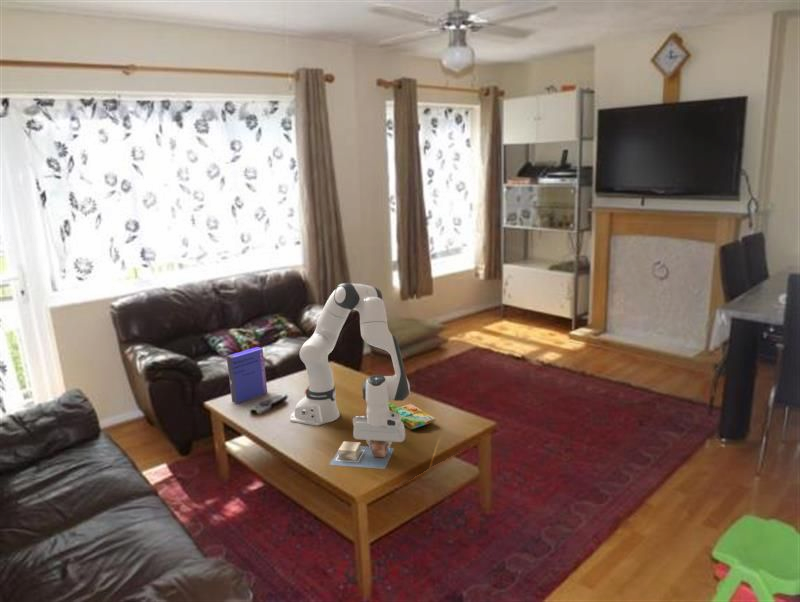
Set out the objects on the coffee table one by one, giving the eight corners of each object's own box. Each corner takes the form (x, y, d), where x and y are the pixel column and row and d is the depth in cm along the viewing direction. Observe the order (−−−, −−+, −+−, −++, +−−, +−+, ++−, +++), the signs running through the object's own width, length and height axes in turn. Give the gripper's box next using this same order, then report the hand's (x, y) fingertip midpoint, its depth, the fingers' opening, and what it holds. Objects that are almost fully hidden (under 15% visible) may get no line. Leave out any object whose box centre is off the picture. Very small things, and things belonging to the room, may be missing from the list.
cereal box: (262, 390, 296) (257, 346, 290) (267, 392, 293) (262, 348, 287) (231, 401, 284) (226, 355, 278) (237, 403, 281) (231, 357, 275)
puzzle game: (410, 401, 263) (435, 416, 246) (410, 411, 264) (436, 426, 247) (388, 408, 257) (413, 424, 240) (388, 418, 258) (413, 434, 241)
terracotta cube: (372, 456, 222) (371, 444, 220) (375, 450, 226) (374, 438, 225) (384, 457, 220) (384, 445, 219) (387, 450, 225) (387, 439, 224)
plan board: (329, 466, 218) (329, 464, 218) (342, 446, 233) (341, 444, 233) (385, 470, 213) (384, 468, 213) (394, 449, 229) (394, 447, 228)
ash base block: (338, 459, 222) (338, 449, 221) (344, 450, 228) (343, 441, 227) (356, 460, 220) (355, 451, 219) (361, 451, 227) (360, 442, 226)
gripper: (349, 419, 219) (352, 451, 222) (402, 422, 214) (403, 455, 218) (354, 412, 225) (356, 444, 228) (405, 415, 220) (406, 447, 224)
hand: (379, 449), depth 223 cm, fingers closed on terracotta cube, 5 cm apart
